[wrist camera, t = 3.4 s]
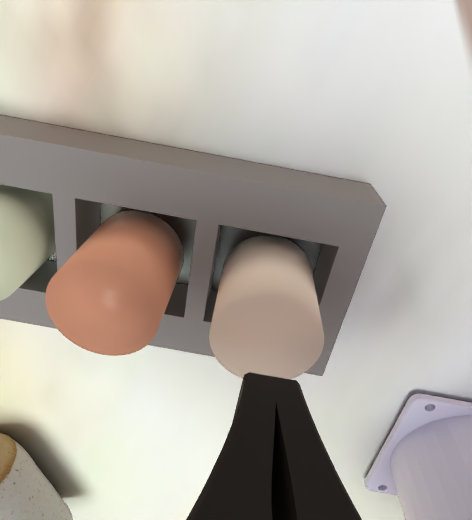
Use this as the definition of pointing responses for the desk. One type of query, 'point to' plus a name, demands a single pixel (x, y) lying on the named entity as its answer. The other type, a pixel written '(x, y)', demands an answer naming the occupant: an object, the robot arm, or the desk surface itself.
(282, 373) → the button cream
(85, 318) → the button terracotta
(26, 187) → the panel
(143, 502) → the desk surface
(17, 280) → the button sage
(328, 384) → the desk surface
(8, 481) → the ceramic mug
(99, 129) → the desk surface
